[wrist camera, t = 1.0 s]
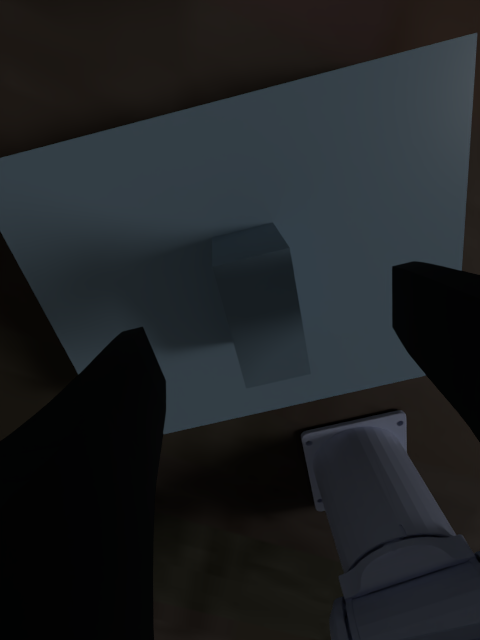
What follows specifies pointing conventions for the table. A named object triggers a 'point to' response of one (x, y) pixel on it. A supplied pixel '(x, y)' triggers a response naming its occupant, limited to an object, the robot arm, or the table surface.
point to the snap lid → (253, 231)
